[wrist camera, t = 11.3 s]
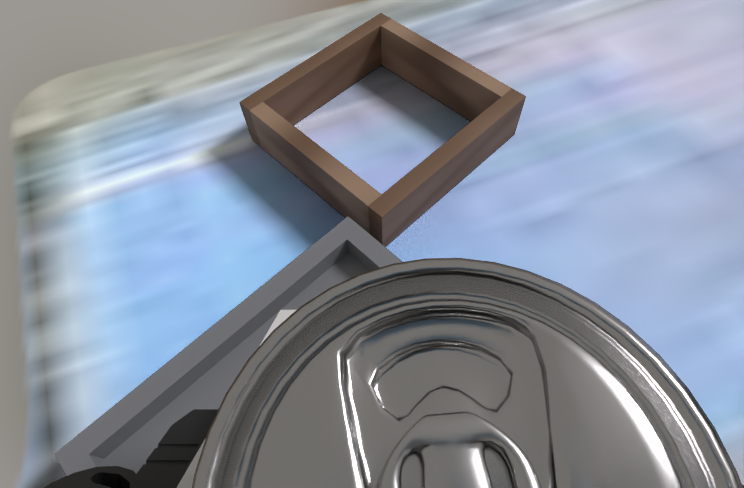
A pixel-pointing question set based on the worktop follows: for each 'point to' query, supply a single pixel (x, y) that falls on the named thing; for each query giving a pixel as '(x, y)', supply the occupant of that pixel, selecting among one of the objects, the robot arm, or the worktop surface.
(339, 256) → the grey tray
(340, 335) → the soda can
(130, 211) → the worktop surface
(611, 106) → the worktop surface
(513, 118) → the walnut collar
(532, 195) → the worktop surface
